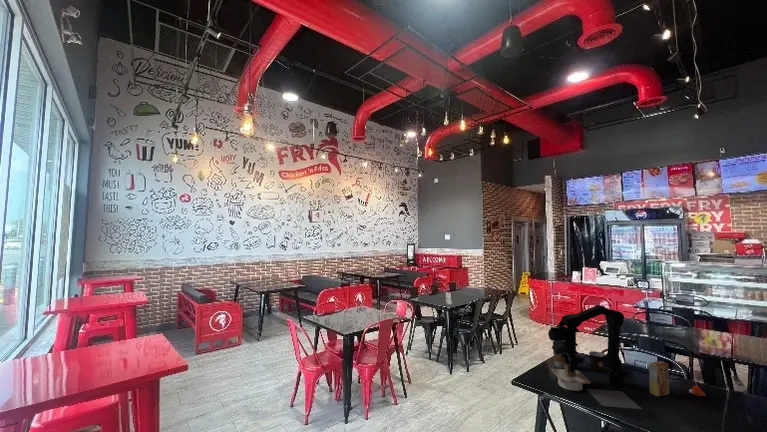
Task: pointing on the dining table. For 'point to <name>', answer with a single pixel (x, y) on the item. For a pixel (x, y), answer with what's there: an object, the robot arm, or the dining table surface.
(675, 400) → the dining table surface
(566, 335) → the robot arm
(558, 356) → the coffee cup
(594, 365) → the coffee mug
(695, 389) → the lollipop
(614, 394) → the mat
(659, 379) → the candy box
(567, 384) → the bowl
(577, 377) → the cover tile
